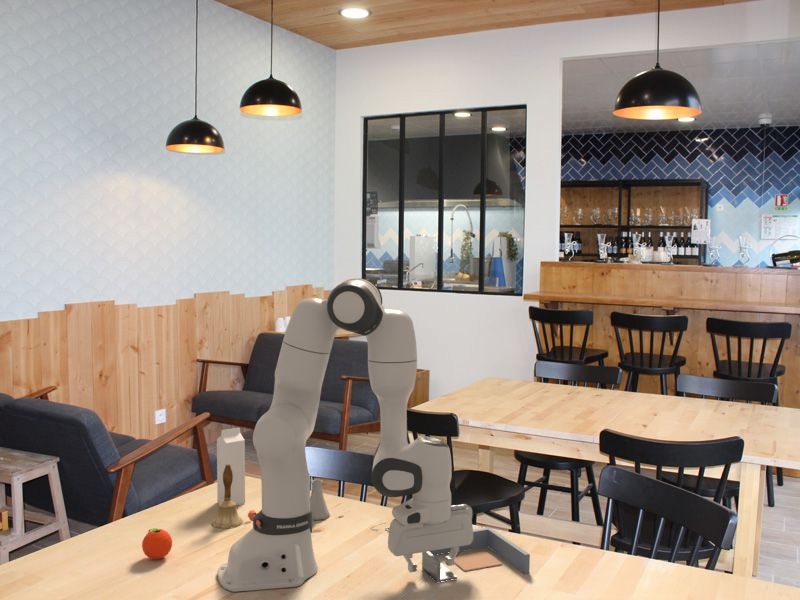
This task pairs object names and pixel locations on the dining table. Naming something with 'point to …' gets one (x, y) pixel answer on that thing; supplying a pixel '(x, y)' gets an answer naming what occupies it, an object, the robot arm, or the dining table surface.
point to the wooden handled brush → (227, 505)
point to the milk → (231, 464)
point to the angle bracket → (436, 568)
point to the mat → (476, 561)
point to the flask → (318, 501)
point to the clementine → (157, 543)
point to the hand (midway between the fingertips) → (431, 567)
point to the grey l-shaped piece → (496, 548)
